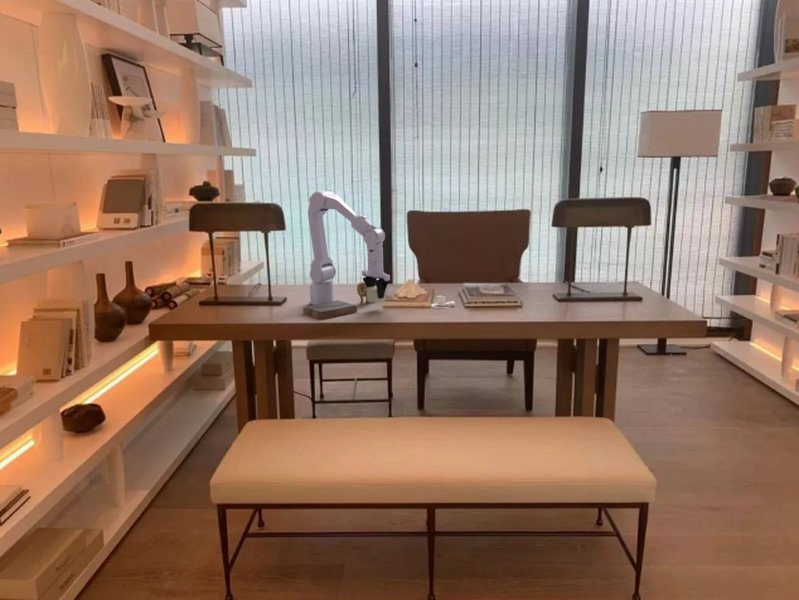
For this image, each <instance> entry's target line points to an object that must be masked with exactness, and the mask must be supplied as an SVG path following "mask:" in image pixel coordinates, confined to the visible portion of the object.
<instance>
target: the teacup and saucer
mask: <svg viewBox="0 0 799 600" xmlns="http://www.w3.org/2000/svg"><path fill="white" fill-rule="evenodd" d="M433 300H434V303H432V304H430V306H431V307H432V308H435V309H447V308H451V307H453V306H455V304H456V303H455V301H447V302H446V296H445V295H437V296H435V297H434V298H433ZM436 300H437V301H436ZM436 305H437V306H436ZM444 306H445V307H444Z"/></svg>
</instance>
